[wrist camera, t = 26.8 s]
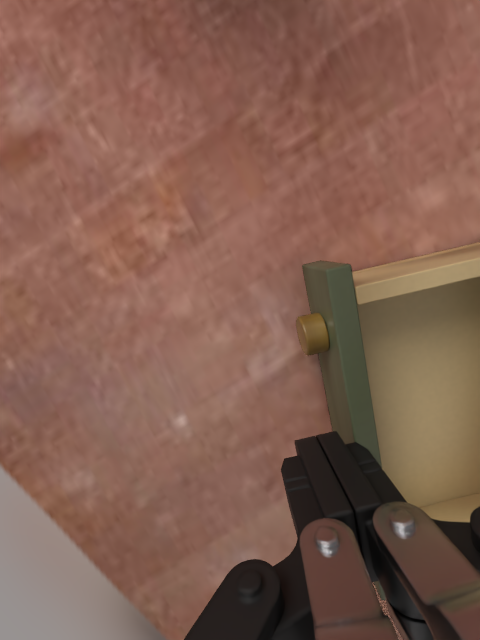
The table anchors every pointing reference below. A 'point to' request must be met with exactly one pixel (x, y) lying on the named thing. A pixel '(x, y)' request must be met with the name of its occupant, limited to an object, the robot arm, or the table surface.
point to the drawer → (405, 370)
